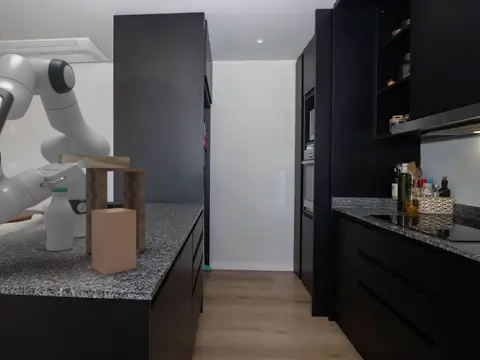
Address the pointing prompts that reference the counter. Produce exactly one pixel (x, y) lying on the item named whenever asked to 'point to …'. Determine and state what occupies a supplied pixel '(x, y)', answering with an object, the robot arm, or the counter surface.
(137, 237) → the wooden open box
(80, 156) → the bar
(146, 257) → the counter surface
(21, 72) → the robot arm
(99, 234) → the pedestal
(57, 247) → the milk bottle
